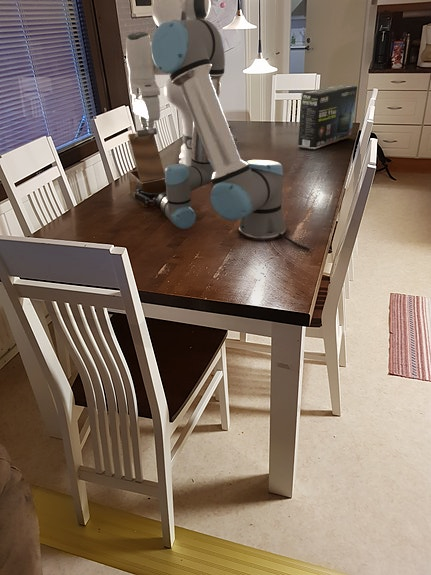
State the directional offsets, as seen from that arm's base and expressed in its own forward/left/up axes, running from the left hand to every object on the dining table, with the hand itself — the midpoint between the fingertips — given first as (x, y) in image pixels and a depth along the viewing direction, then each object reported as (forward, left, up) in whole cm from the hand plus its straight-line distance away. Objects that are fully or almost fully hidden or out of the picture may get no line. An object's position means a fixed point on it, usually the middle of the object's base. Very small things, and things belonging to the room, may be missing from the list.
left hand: (147, 131), depth 160 cm
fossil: (-89, -8, -27) cm, 93 cm away
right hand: (-3, -3, -21) cm, 22 cm away
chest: (-6, -7, -27) cm, 29 cm away
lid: (-4, -4, -10) cm, 12 cm away
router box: (-108, +45, -27) cm, 120 cm away
